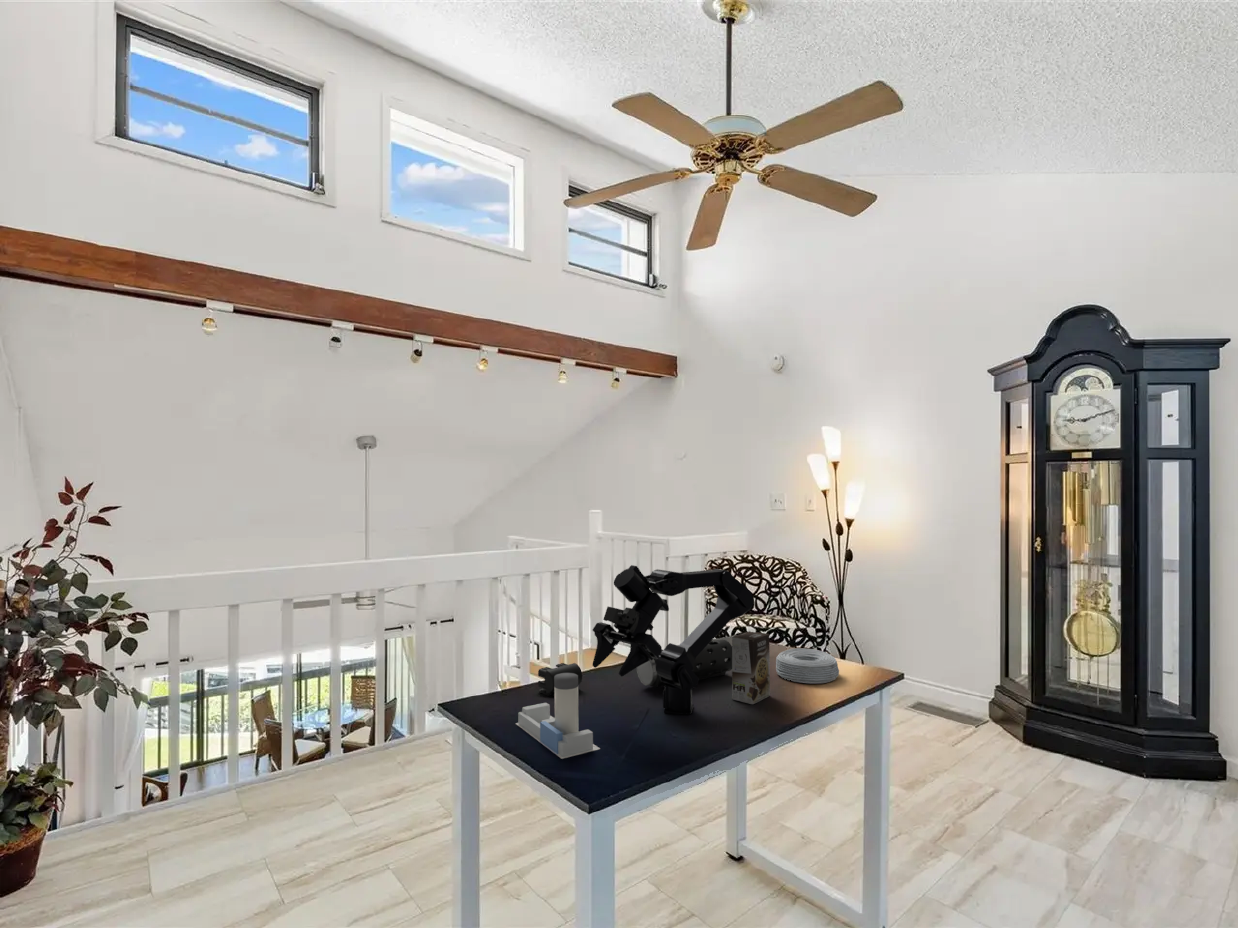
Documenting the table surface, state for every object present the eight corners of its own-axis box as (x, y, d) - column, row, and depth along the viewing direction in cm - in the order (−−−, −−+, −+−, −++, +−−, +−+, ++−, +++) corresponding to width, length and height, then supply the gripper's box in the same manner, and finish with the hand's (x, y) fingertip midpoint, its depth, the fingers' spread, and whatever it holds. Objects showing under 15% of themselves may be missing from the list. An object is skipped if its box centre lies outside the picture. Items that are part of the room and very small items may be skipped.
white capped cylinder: (578, 737, 145) (577, 672, 145) (578, 747, 140) (578, 679, 140) (555, 738, 144) (554, 673, 144) (554, 747, 139) (554, 680, 139)
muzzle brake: (736, 678, 190) (736, 641, 190) (654, 695, 175) (654, 656, 175) (714, 670, 198) (714, 635, 198) (634, 686, 183) (634, 648, 184)
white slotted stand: (550, 719, 158) (550, 698, 158) (600, 752, 139) (600, 729, 139) (515, 726, 153) (515, 705, 154) (561, 762, 134) (561, 738, 134)
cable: (806, 664, 204) (806, 644, 204) (853, 679, 189) (852, 657, 189) (763, 673, 195) (763, 652, 195) (808, 689, 180) (808, 667, 180)
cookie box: (753, 705, 167) (753, 640, 168) (731, 699, 171) (730, 636, 172) (771, 695, 174) (770, 633, 175) (749, 691, 178) (748, 629, 179)
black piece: (553, 699, 173) (553, 672, 173) (536, 692, 178) (536, 667, 178) (582, 690, 180) (582, 664, 180) (565, 684, 185) (565, 659, 185)
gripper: (598, 588, 161) (561, 641, 154) (651, 598, 147) (613, 658, 140) (623, 616, 166) (588, 669, 159) (677, 629, 152) (642, 688, 145)
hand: (606, 670), depth 150 cm, fingers open, 9 cm apart
